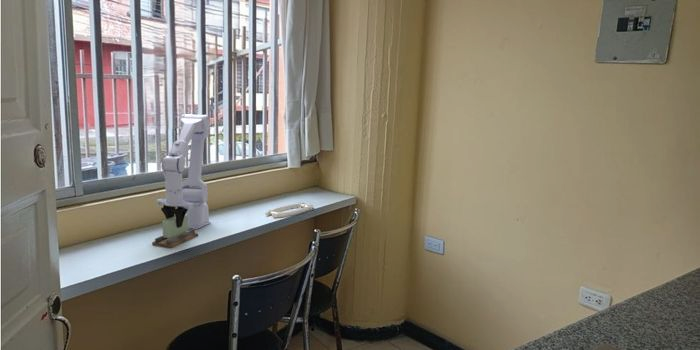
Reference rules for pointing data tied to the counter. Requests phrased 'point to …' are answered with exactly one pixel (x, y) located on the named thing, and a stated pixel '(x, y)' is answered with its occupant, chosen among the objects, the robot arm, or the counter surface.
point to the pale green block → (174, 227)
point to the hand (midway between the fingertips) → (175, 226)
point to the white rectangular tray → (277, 214)
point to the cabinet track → (174, 239)
